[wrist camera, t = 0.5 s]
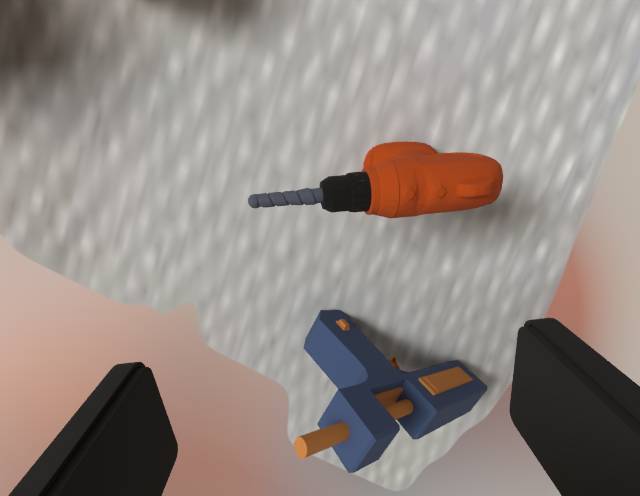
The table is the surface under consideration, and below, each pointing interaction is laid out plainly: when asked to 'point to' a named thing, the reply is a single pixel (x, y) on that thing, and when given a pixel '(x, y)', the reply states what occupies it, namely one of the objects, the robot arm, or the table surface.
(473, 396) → the glue gun
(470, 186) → the toy drill
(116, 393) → the robot arm
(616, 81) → the table surface
